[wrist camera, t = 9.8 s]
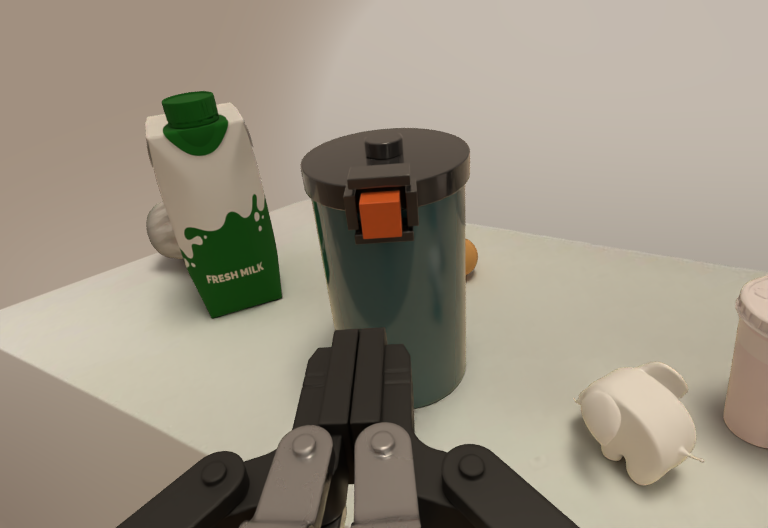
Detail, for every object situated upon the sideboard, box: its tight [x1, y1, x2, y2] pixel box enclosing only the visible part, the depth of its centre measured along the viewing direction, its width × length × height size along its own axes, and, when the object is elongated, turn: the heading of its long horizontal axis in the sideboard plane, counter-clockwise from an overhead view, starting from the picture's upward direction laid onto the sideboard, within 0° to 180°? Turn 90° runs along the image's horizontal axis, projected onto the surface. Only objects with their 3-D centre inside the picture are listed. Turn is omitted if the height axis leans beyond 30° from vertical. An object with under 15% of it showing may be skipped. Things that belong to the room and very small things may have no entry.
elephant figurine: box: [573, 362, 704, 485], centre depth 30 cm, size 7×8×6 cm
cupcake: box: [146, 201, 183, 259], centre depth 56 cm, size 9×9×10 cm
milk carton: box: [145, 91, 282, 318], centre depth 47 cm, size 9×9×20 cm
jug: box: [301, 128, 470, 408], centre depth 36 cm, size 15×11×19 cm
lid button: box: [359, 190, 402, 239], centre depth 26 cm, size 1×2×2 cm
